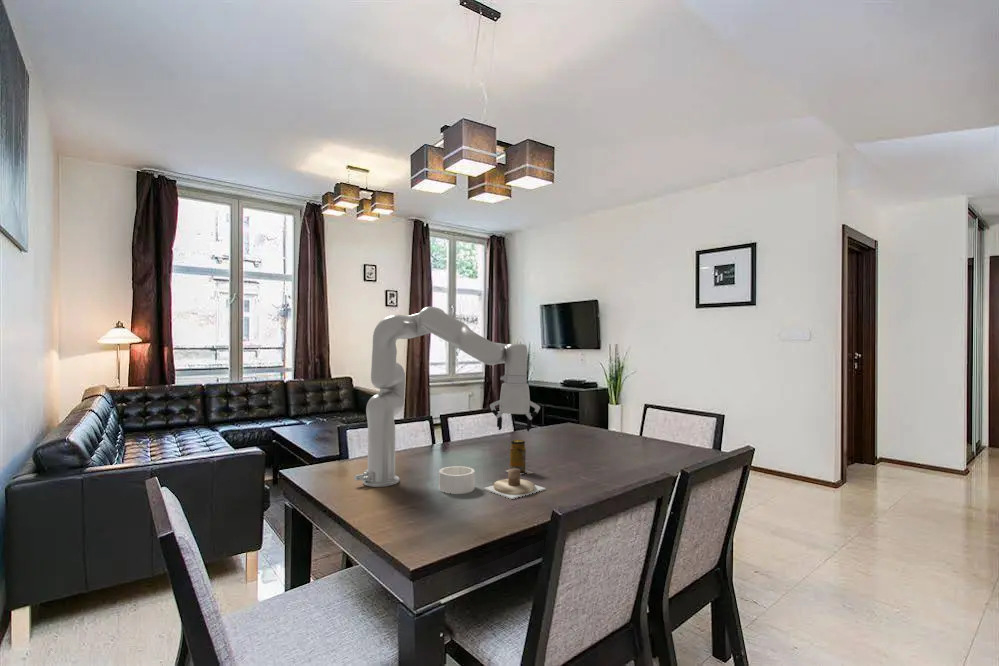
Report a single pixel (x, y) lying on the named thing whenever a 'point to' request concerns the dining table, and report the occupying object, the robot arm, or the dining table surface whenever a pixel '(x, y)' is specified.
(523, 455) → the condiment
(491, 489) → the mat
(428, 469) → the dining table surface
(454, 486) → the bowl
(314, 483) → the dining table surface
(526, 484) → the lid
